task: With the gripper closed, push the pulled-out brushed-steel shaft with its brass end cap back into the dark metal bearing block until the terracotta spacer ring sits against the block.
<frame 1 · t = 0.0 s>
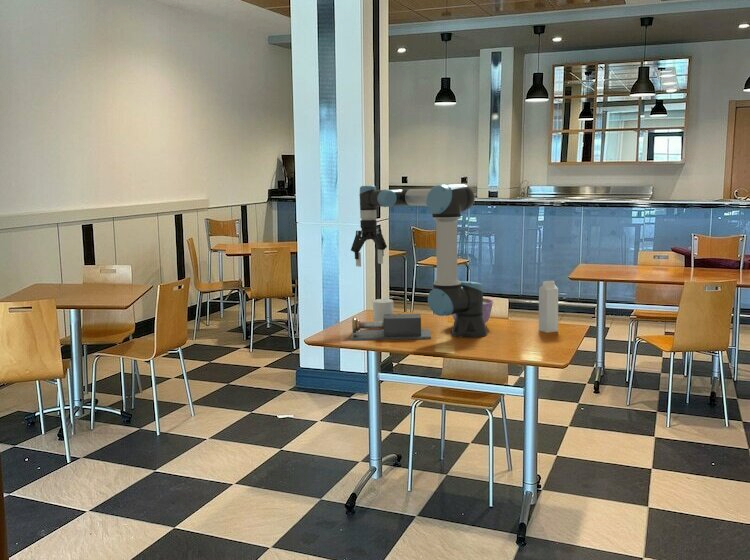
hand: (369, 265, 341), 28 cm above the table, fingers open, 13 cm apart
candle holder: (383, 326, 339), on the table
bearing block: (384, 335, 318), on the table
milk: (548, 331, 320), on the table
shaft: (377, 324, 318), point 5 cm above the table, slide at 10.0 cm
bowl of food: (471, 326, 334), on the table
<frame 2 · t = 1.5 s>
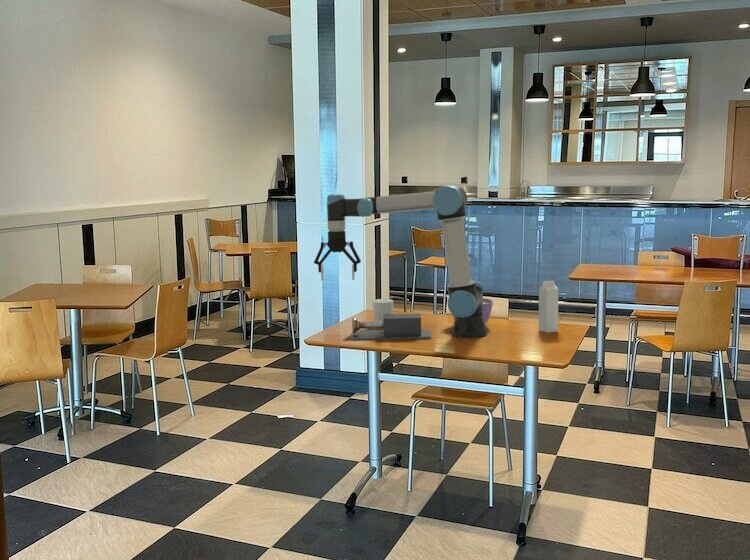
hand: (338, 279, 316), 25 cm above the table, fingers open, 13 cm apart
nothing on the table moved.
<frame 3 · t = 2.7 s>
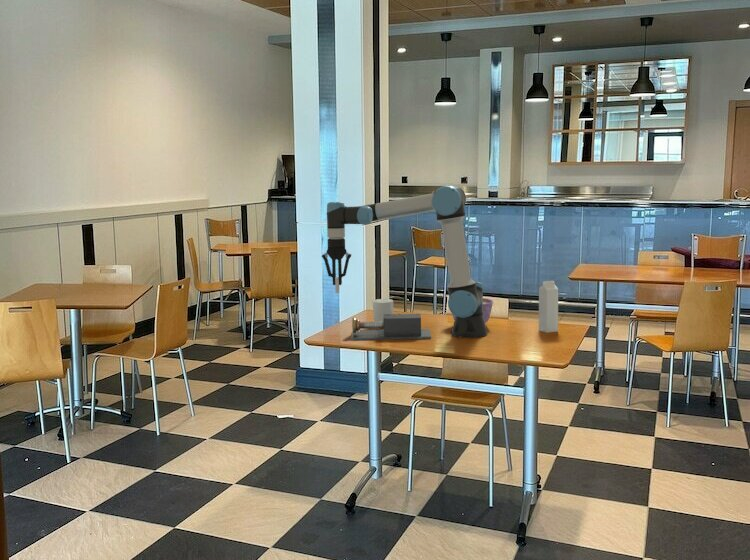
hand: (337, 292, 317), 19 cm above the table, fingers closed
nothing on the table moved.
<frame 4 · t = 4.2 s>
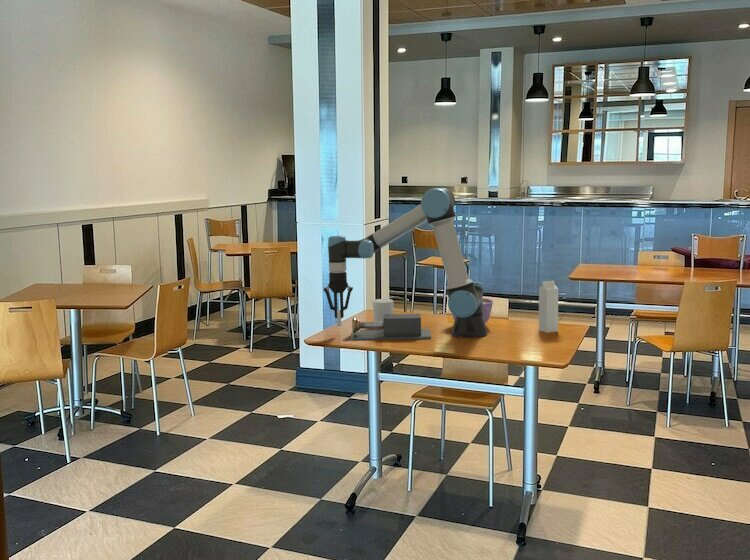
hand: (339, 325, 318), 5 cm above the table, fingers closed
nothing on the table moved.
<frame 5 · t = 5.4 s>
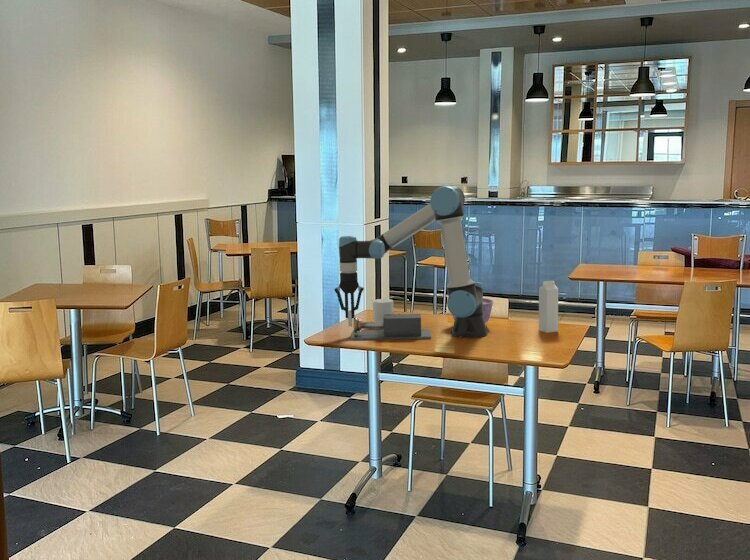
hand: (350, 325, 318), 5 cm above the table, fingers closed
shaft: (378, 324, 318), point 5 cm above the table, slide at 9.4 cm, touching gripper
everything else where it was.
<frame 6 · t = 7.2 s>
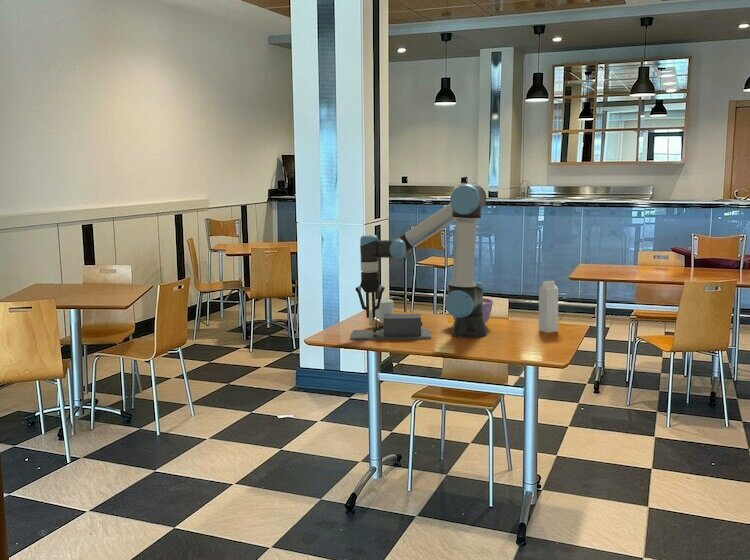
hand: (371, 325, 318), 5 cm above the table, fingers closed
shaft: (397, 324, 317), point 5 cm above the table, slide at 1.3 cm, touching gripper
everything else where it was.
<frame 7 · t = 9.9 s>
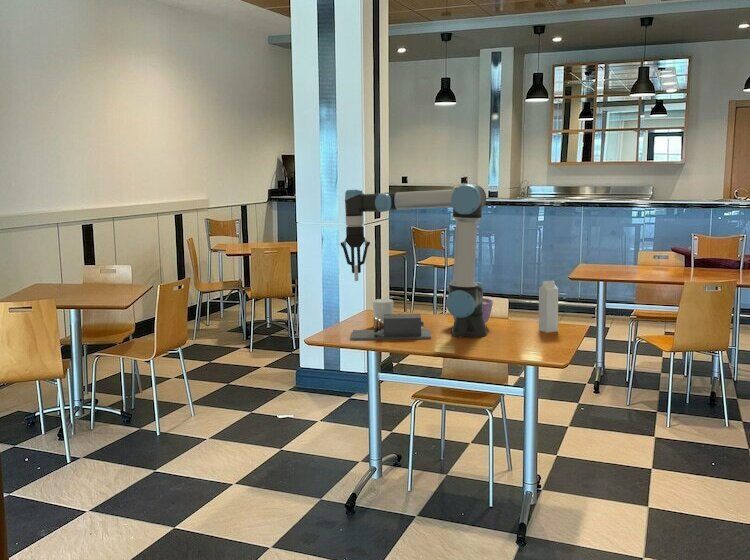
hand: (356, 280, 316), 24 cm above the table, fingers closed
shaft: (398, 324, 317), point 5 cm above the table, slide at 0.8 cm
everything else where it was.
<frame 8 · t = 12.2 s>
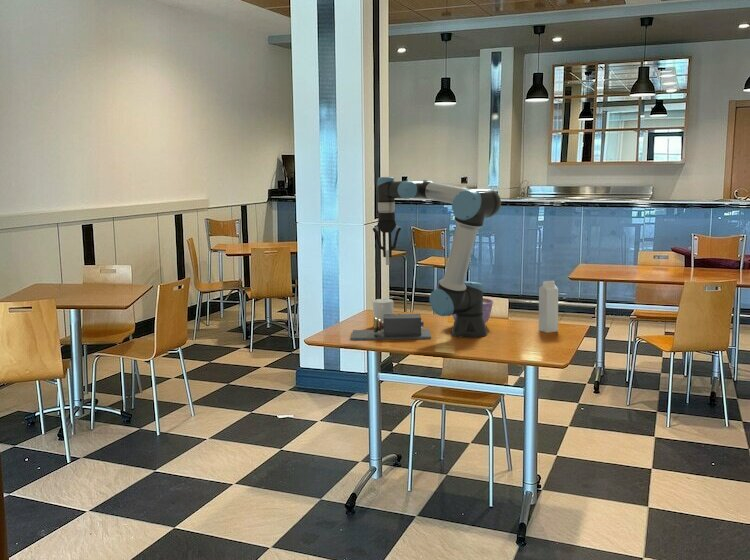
hand: (387, 264, 329), 29 cm above the table, fingers closed
nothing on the table moved.
at the end: shaft slide at 0.8 cm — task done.
